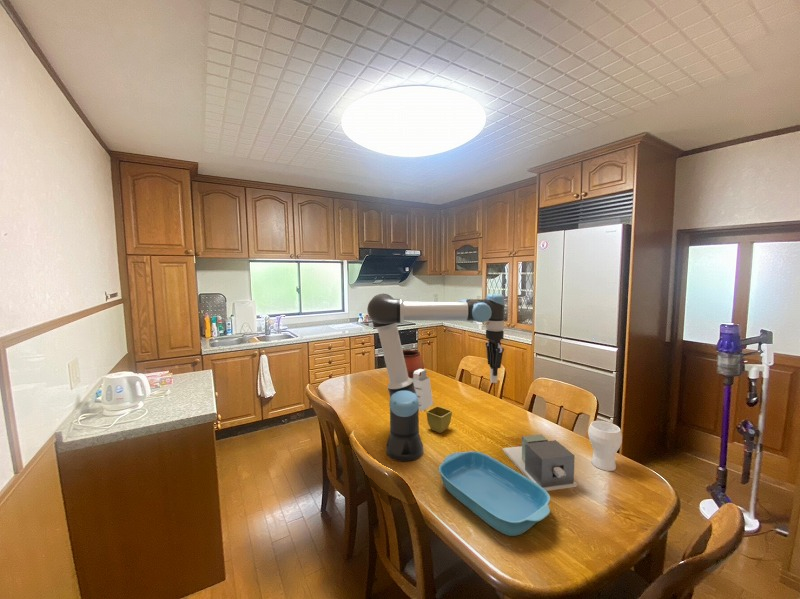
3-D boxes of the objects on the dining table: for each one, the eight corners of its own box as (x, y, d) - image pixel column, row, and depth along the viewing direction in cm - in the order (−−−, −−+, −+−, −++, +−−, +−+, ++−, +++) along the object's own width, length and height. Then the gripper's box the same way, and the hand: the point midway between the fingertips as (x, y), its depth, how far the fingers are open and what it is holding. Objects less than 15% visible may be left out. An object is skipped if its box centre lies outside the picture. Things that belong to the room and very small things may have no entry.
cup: (621, 477, 115) (623, 436, 113) (586, 467, 120) (588, 428, 119) (619, 462, 124) (621, 424, 122) (587, 454, 129) (589, 417, 128)
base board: (502, 450, 133) (502, 448, 132) (534, 447, 135) (534, 444, 135) (539, 491, 107) (539, 489, 107) (577, 486, 110) (577, 484, 110)
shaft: (521, 459, 124) (522, 436, 123) (540, 456, 125) (541, 434, 124) (550, 489, 106) (551, 463, 106) (572, 486, 108) (573, 460, 107)
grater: (406, 407, 177) (406, 371, 175) (417, 400, 185) (417, 366, 183) (423, 411, 170) (422, 374, 169) (433, 405, 179) (433, 369, 177)
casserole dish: (565, 520, 96) (566, 497, 95) (520, 560, 83) (520, 533, 82) (470, 461, 125) (471, 444, 125) (426, 484, 113) (426, 464, 112)
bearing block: (524, 469, 118) (525, 443, 117) (554, 466, 120) (555, 440, 119) (541, 487, 108) (542, 459, 107) (573, 483, 110) (574, 455, 109)
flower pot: (452, 429, 151) (452, 410, 150) (441, 436, 144) (441, 417, 144) (437, 423, 157) (437, 405, 156) (425, 430, 150) (425, 411, 150)
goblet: (430, 394, 194) (429, 353, 192) (401, 400, 186) (400, 357, 183) (414, 384, 211) (414, 347, 209) (387, 389, 203) (387, 350, 201)
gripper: (480, 327, 148) (479, 377, 150) (493, 332, 135) (492, 387, 137) (495, 326, 149) (494, 376, 151) (510, 332, 137) (508, 386, 139)
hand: (493, 382), depth 144 cm, fingers closed
